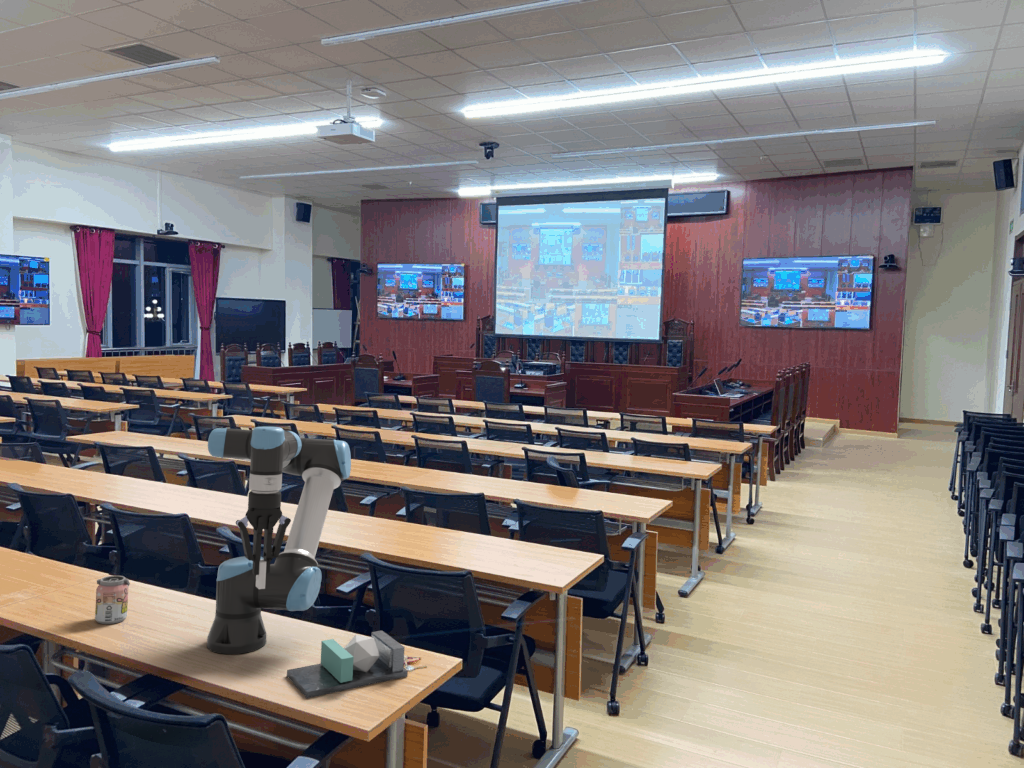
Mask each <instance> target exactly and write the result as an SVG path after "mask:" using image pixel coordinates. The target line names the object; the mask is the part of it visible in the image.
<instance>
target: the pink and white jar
mask: <svg viewBox="0 0 1024 768" xmlns="http://www.w3.org/2000/svg"><path fill="white" fill-rule="evenodd" d="M96 584H97V585H98V586H97V587H96V591H95V612H94V613H95V614H94V619H95V621H96V622H97V623H98V624H100V625H114V624H118V623H121V622H123V621H125V620H126V618H127V617H128V603H129V586H130V585H131V583H130V580H129V578H127V577H125V576H124V575H108V576H104V577H101V578H97V579H96Z"/></svg>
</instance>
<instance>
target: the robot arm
mask: <svg viewBox="0 0 1024 768" xmlns="http://www.w3.org/2000/svg"><path fill="white" fill-rule="evenodd" d="M207 450H208V452H209V455H210V456H211V457H215V458H221V459H233V460H241V461H246V462H249V463H250V464H249V465H250V467H249V469H250V470H249V481H248V489H249V490H250V491H249V492H248V498H247V499H248V500H247V501H248V502H247V511H246V512H245V516H244V517H243V518H241V519H237V520H236V521H235V525H236V526H237V527H238V529H239V533H240V539H241V543H242V548H243V552H244V555H243V556H237V557H234V558H229V559H226V560H224V561H223V562H222V563H220V565H219V566H218V570H217V575H216V576H217V578H215V579H216V590H215V591H216V594H215V613H214V614H215V615H214V619H213V621H212V625H211V627H210V630H209V632H208V635H207V638H206V640H207V641H206V647H207V649H208V650H209V651H211V652H213V653H218V654H223V655H238V654H239V655H240V654H246V653H250V652H254V651H257V650H259V649H261V648H263V647H265V645H266V643H267V630H266V627H265V624H264V621H263V617H262V609H268V610H269V609H270V610H281V611H289V612H296V611H299V612H300V611H301V612H304V611H307V610H308V609H309V608H311V607H312V606H313V605H314V603H315V602H316V600H317V598H318V595H319V593H320V589H321V582H322V580H323V579H322V577H323V576H322V571H321V569H320V568H319V563H318V562H317V559H315V558H316V554H317V550H318V547H319V544H320V540H321V537H322V532H323V530H324V526H325V522H326V519H327V516H328V515H327V514H328V510H329V507H330V504H331V499H332V497H333V493H334V490H335V489H337V488H339V487H340V486H341V482H342V480H347V479H349V478H350V477H351V476H350V475H351V470H352V459H351V458H352V457H351V449H350V445H349V443H348V442H346V441H345V440H339V439H337V440H336V439H335V438H334V439H324V438H323V439H321V438H308V437H300V436H299V435H298V433H296V432H294V431H291V430H284V429H283V428H282V427H279V426H256V427H254V428H253V430H252V429H242V428H241V429H240V428H227V427H224V428H223V427H221V428H220V427H219V428H218V427H217V428H214V429H213V430H211V432H210V433H209V436H208V440H207ZM283 473H285V474H287V475H293V476H301V479H302V480H303V481H304V485H303V488H302V491H301V495H300V499H299V501H298V503H297V504H298V505H297V508H296V510H295V513H294V518H293V521H292V520H291V518H289V517H287V516H285V515H283V511H282V509H281V506H282V504H281V503H282V492H281V491H280V490H282V487H283V486H282V485H283ZM291 521H292V523H291ZM248 522H249V524H250V526H252V530H253V539H252V546H251V541H250V535H249V531H248V525H249V524H248ZM277 523H279V524H278V527H277V529H276V533H275V537H274V540H273V533H274V528H275V526H276V524H277ZM290 524H291V528H290V531H289V533H288V534H289V535H288V537H287V539H286V540H287V541H286V544H285V547H284V550H283V551H282V552H281V548H282V545H283V541H284V538H285V534H286V531H287V528H288V526H289V525H290ZM263 533H264V535H263ZM262 535H263V536H262ZM262 537H263V539H262ZM262 540H263V552H262ZM262 553H263V554H262ZM273 559H275V560H274V563H271V562H272V561H273Z"/></svg>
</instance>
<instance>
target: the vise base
mask: <svg viewBox="0 0 1024 768" xmlns="http://www.w3.org/2000/svg"><path fill="white" fill-rule="evenodd" d="M370 637H372V638H374V640H375V643H376V646H377V649H378V652H379V655H380V657H379V658H378V659H377V660H376V662H375V663H374V664H373V665H372V666H371V668H370V669H369V670H368V671H367V672H362V671H357V670H353V678H352V681H347V682H342V683H340V682H339V681H338V680H337V679H336V678H335V677H334V676H333V675H332V674H331V673H330V672H329V671H328V670H327V669H326V668H325V667H324V666H323V665H322V664H321V663H316V664H311V665H310V664H309V665H306V666H301V667H295V668H290V669H287V670H286V677H287V678H288V680H290V682H291V683H293V685H294V686H295V687H296V688H297V689H298V690H299V691H300V693H301V694H302V695H303V696H304V697H305V698H306V699H311V698H316V697H320V696H321V697H322V696H324V695H329V694H334V693H338V692H342V691H343V692H344V691H349V690H353V689H356V688H363V687H366V686H371V685H374V684H380V683H384V682H388V681H394V680H398V679H399V680H400V679H402V678H407V677H408V675H409V673H408V671H409V670H408V669H406V668H405V667H404V666H405V664H404V663H405V662H404V661H405V646H404V645H403V644H401V643H400V642H398V641H397V640H396V639H394V638H393V637H392V636H391V635H389V634H388V633H387V632H385V631H383V630H377V631H371V636H370Z"/></svg>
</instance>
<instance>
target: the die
mask: <svg viewBox="0 0 1024 768" xmlns="http://www.w3.org/2000/svg"><path fill="white" fill-rule="evenodd" d="M343 648H344V649H345V650H346V651H347V652H349V653H350V654H351V655H352V656H353V657H354V660H353V670H357V671H362V672H367V671H368V670H369V669H370V668H371V666H372V665H373V664H374V663H375V662H376V660H377V659H378V658H379V657H380V655H379V652H378V649H377V646H376V643H375V640H374V638H372V637H371V636H370V637H369V636H365V635H359V634H355V635H354V636H353V637H352V638H351V639H350V640H349V642H348V643H347V644H346V645H345V646H344V647H343Z"/></svg>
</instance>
